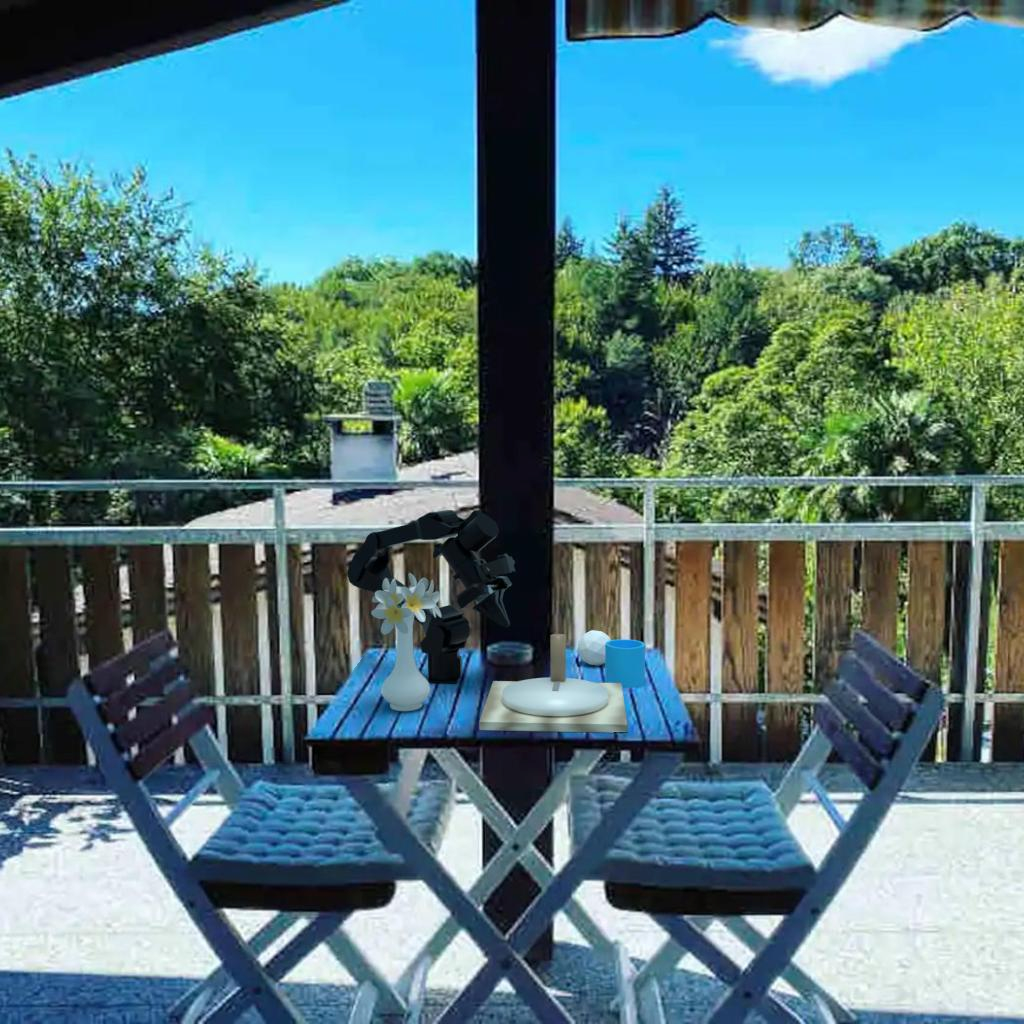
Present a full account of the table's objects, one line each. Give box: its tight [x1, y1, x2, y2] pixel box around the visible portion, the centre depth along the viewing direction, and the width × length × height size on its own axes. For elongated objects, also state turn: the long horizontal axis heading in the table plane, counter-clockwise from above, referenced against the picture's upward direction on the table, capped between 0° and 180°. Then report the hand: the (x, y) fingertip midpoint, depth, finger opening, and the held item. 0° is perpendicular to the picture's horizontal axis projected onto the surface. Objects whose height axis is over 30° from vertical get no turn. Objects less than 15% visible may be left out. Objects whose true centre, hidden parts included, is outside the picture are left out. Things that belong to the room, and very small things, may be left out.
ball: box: [577, 629, 612, 667], centre depth 215 cm, size 8×8×8 cm
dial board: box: [478, 680, 628, 734], centre depth 184 cm, size 26×26×2 cm
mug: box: [604, 638, 646, 689], centre depth 203 cm, size 12×8×8 cm
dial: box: [502, 633, 608, 716], centre depth 183 cm, size 20×20×10 cm
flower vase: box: [370, 572, 441, 712], centre depth 183 cm, size 13×18×25 cm
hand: (507, 626), depth 196 cm, fingers closed
